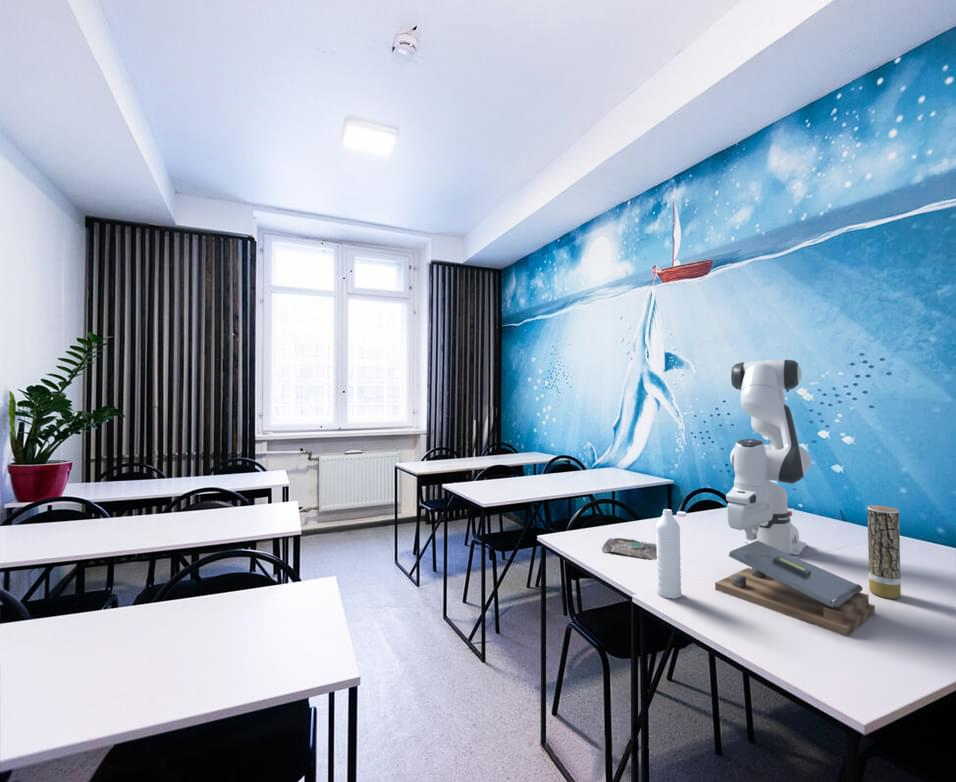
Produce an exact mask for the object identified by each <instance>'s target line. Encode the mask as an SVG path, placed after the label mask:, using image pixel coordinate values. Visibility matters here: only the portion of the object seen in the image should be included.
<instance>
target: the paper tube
mask: <svg viewBox="0 0 956 782" xmlns="http://www.w3.org/2000/svg"><path fill="white" fill-rule="evenodd" d="M899 510H900V509H898V508H897V507H896V508H895V507H892V506H885V505H876V504H875V505H867V537H868V539H867V541H868V542H867V544H868V545H867V548H868V582H869V584H868V586H869V587H868V589H869V591H870V592H871V593H872V594H873V595H876V596H878V597H881V598H884V599H891V600H893V599H894V600H895V599H899V598H900V597H901V596H902V595H901V594H902V593H901V592H902V591H901V584H902V583H901V582H902V581H901V580H902V579H901V538H900V537H901V536H900V511H899Z"/></svg>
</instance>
